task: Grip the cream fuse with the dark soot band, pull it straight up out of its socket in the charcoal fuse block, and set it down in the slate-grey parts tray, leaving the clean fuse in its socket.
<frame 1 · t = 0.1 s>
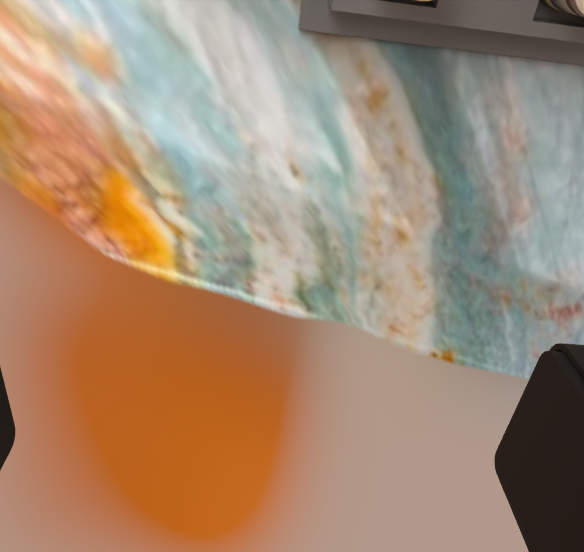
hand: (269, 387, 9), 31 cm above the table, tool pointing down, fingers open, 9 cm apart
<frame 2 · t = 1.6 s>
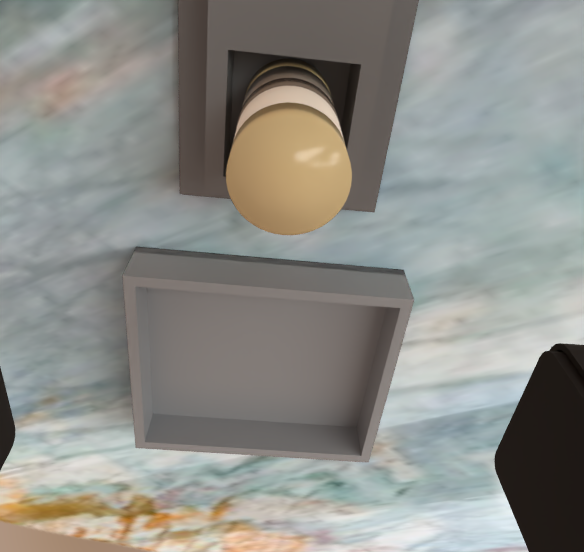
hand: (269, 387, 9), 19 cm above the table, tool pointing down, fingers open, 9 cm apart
blown fuse: (288, 104, 24), point 1 cm above the table, touching fuse block
parts tray: (263, 347, 34), on the table
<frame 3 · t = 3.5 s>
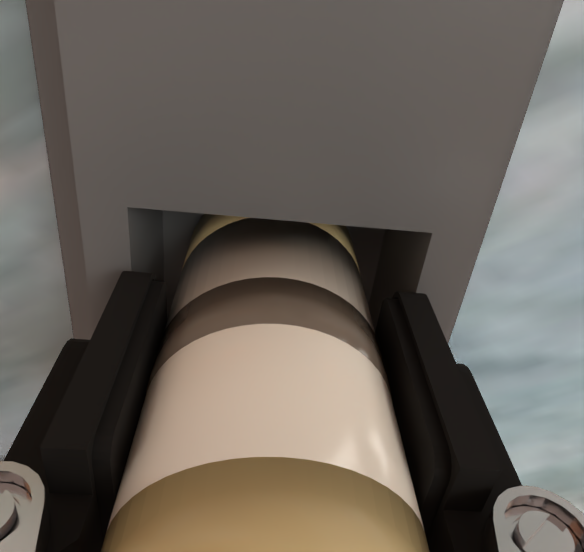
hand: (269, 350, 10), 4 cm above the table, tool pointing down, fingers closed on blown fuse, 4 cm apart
blown fuse: (271, 261, 13), point 1 cm above the table, touching fuse block, gripper
fuse block: (294, 6, 11), on the table
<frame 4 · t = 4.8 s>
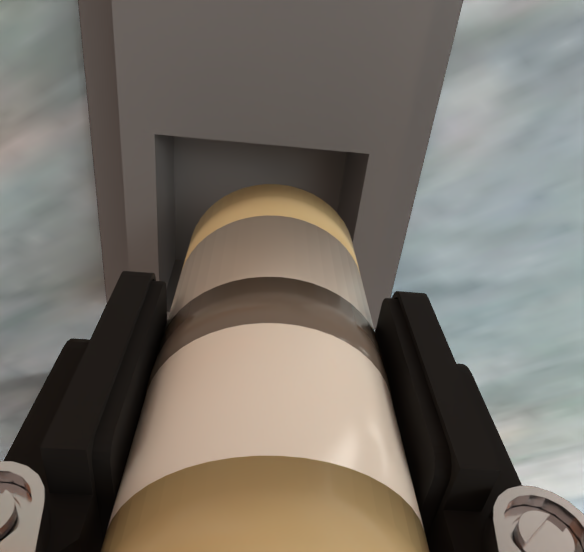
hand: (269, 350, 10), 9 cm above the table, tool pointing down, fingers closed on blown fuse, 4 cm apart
blown fuse: (271, 261, 13), point 5 cm above the table, touching gripper
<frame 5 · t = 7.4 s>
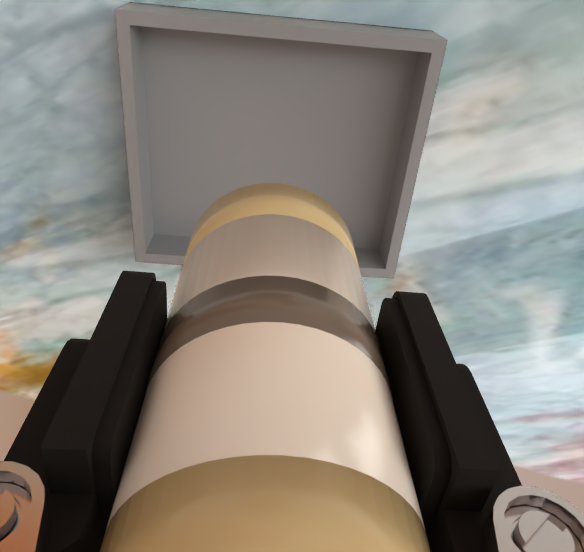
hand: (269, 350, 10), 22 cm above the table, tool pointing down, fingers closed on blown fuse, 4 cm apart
blown fuse: (271, 260, 13), point 18 cm above the table, touching gripper
parts tray: (274, 144, 30), on the table
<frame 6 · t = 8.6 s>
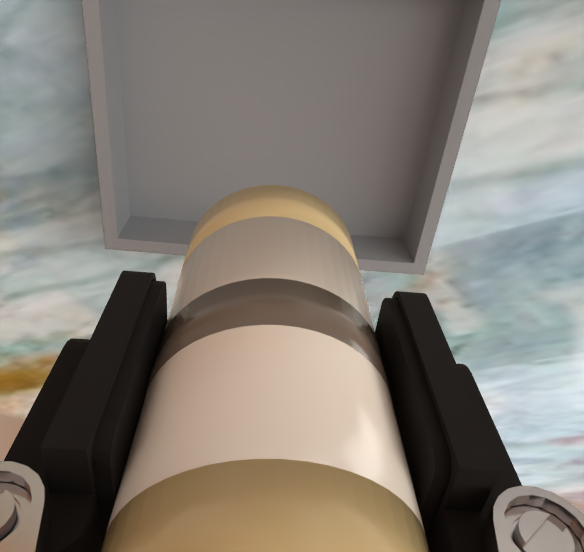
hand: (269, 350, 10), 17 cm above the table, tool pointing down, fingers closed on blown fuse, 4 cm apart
blown fuse: (271, 261, 13), point 14 cm above the table, touching gripper
parts tray: (280, 105, 24), on the table
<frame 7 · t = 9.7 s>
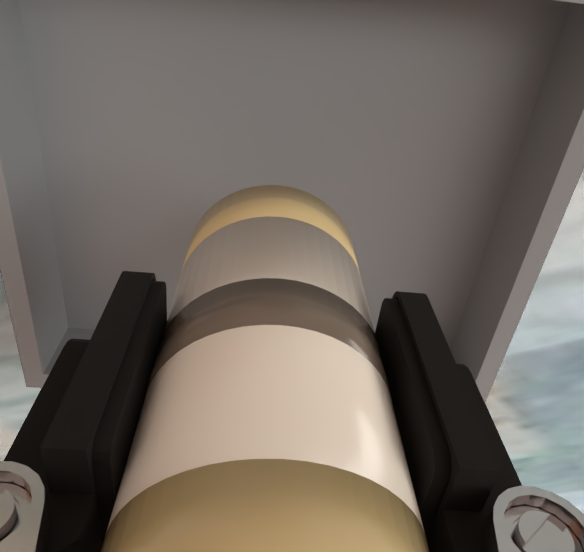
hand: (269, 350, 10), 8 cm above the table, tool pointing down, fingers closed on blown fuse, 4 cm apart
blown fuse: (271, 261, 13), point 5 cm above the table, touching gripper
parts tray: (278, 182, 17), on the table
when the fingers open (6 cm above the table, at t = 10.4 s): blown fuse drops 2 cm, resting on parts tray.
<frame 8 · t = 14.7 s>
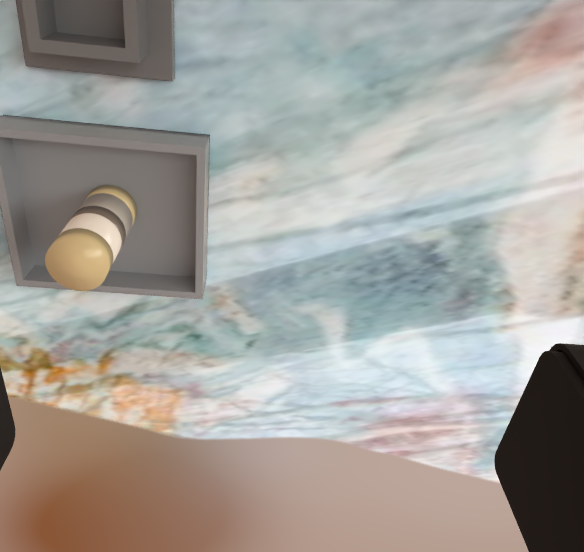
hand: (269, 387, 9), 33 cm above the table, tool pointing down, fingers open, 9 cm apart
blown fuse: (112, 208, 43), point 1 cm above the table, touching parts tray
parts tray: (114, 205, 43), on the table
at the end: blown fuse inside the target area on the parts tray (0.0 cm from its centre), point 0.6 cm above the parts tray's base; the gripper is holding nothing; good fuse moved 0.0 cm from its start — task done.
